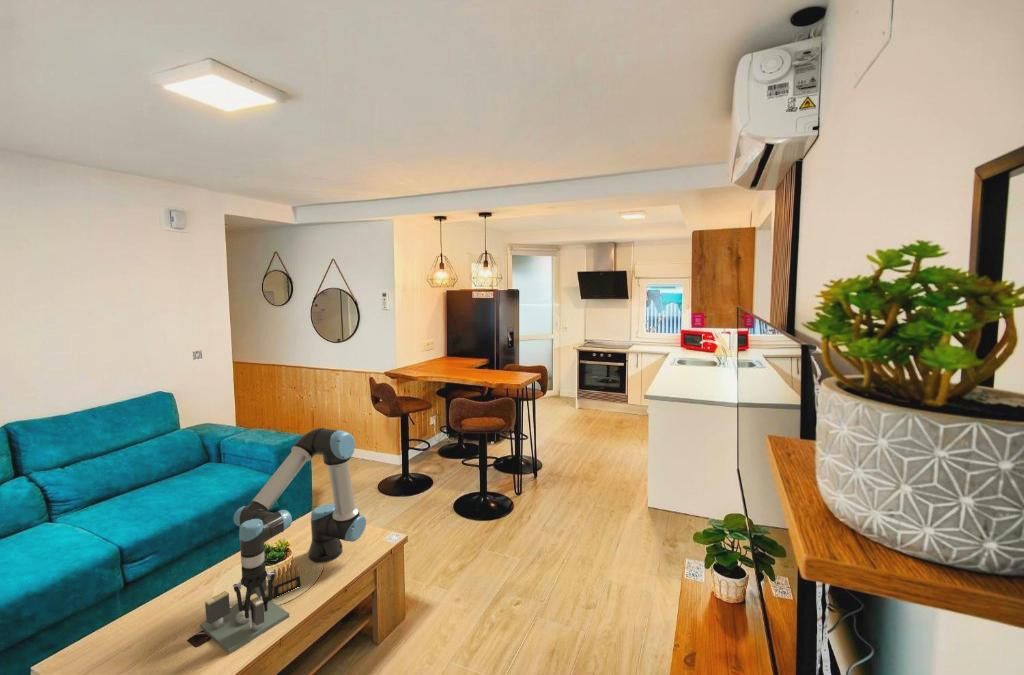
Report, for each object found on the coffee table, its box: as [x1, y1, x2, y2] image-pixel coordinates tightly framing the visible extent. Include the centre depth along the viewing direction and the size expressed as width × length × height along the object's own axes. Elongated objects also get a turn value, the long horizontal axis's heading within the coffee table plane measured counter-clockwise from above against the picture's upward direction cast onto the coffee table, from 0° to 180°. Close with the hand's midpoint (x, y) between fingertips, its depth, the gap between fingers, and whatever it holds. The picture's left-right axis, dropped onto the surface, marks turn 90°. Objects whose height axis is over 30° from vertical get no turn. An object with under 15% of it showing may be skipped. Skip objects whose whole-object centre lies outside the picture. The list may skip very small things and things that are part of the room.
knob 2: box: [249, 594, 265, 631], centre depth 170 cm, size 7×3×12 cm, turn 51°
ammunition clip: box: [273, 560, 302, 599], centre depth 193 cm, size 11×2×12 cm, turn 134°
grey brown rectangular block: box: [251, 578, 268, 601], centre depth 183 cm, size 7×3×12 cm, turn 177°
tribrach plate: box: [199, 599, 290, 655], centre depth 176 cm, size 22×22×4 cm
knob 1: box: [204, 590, 231, 629], centre depth 171 cm, size 7×3×12 cm, turn 150°
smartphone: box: [186, 629, 213, 648], centre depth 171 cm, size 7×1×15 cm
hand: (256, 622), depth 171 cm, fingers closed on knob 2, 3 cm apart
